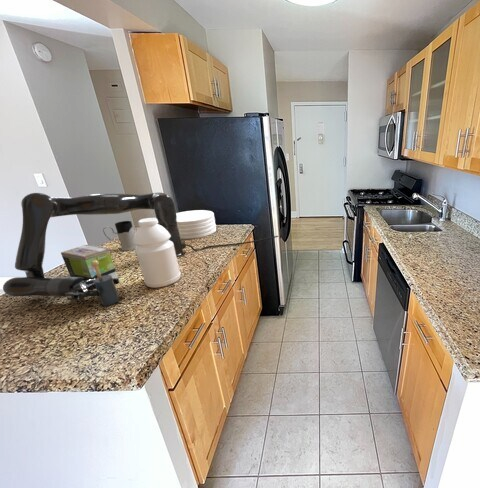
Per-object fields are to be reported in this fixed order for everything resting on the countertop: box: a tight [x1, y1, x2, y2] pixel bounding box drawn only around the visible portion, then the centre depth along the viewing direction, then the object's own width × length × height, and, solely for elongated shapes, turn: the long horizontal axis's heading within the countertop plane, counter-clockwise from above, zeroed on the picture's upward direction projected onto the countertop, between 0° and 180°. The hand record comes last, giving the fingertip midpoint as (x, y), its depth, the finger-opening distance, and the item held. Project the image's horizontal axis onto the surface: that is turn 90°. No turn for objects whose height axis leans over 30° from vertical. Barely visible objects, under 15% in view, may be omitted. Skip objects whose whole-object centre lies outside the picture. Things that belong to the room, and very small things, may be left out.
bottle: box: [133, 217, 182, 289], centre depth 110 cm, size 14×14×28 cm
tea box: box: [60, 244, 119, 280], centre depth 112 cm, size 15×10×15 cm, turn 71°
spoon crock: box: [91, 260, 121, 307], centre depth 97 cm, size 5×5×18 cm
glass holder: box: [102, 220, 138, 251], centre depth 146 cm, size 9×14×15 cm, turn 116°
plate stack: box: [176, 209, 217, 240], centre depth 174 cm, size 28×28×12 cm
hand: (109, 287), depth 98 cm, fingers open, 8 cm apart
